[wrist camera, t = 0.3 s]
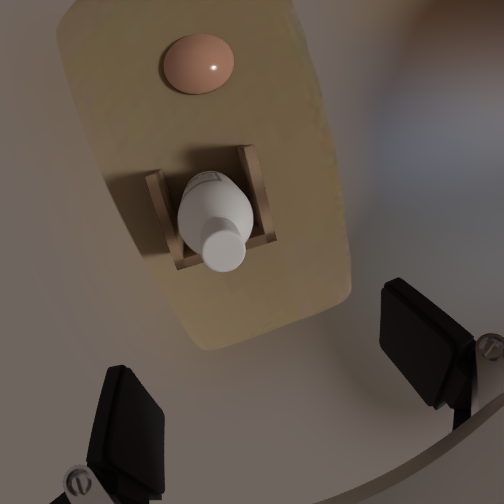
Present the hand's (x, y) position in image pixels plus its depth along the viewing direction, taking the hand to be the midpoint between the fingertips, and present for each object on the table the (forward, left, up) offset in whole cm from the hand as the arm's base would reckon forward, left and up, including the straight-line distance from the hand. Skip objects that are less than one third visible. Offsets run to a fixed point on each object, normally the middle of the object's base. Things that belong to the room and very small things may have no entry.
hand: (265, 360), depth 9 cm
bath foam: (0, 0, -30) cm, 30 cm away
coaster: (-18, +3, -30) cm, 35 cm away
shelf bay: (0, 0, -30) cm, 30 cm away
